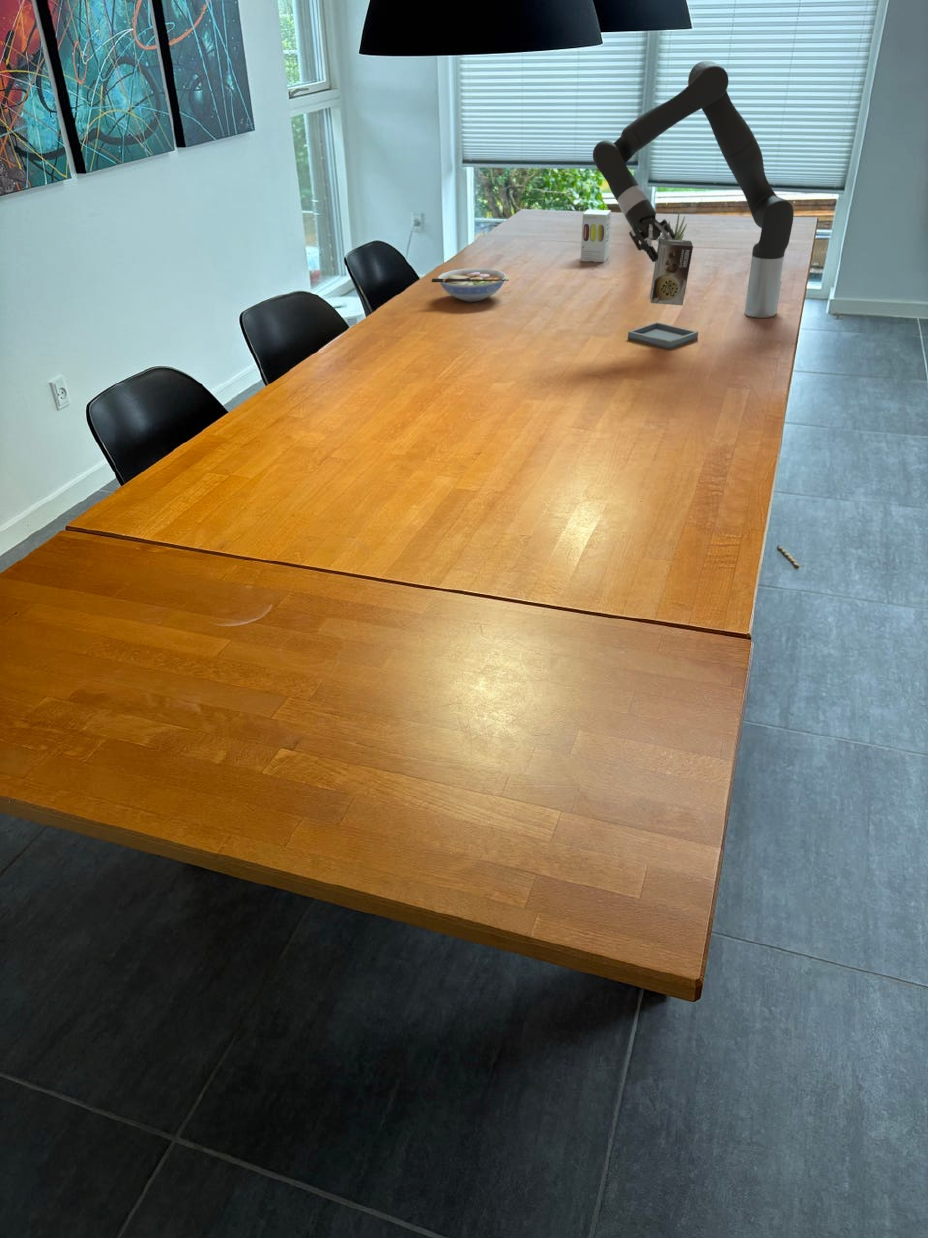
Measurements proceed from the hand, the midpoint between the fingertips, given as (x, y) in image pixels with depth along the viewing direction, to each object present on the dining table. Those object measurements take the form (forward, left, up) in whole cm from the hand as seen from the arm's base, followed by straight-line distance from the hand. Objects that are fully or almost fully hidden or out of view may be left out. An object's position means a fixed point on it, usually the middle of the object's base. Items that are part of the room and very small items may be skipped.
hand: (665, 257), depth 260 cm
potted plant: (-49, -34, -23) cm, 64 cm away
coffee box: (0, +1, -12) cm, 12 cm away
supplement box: (-62, -80, -23) cm, 104 cm away
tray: (0, +1, -22) cm, 23 cm away
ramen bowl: (+7, -73, -23) cm, 77 cm away
